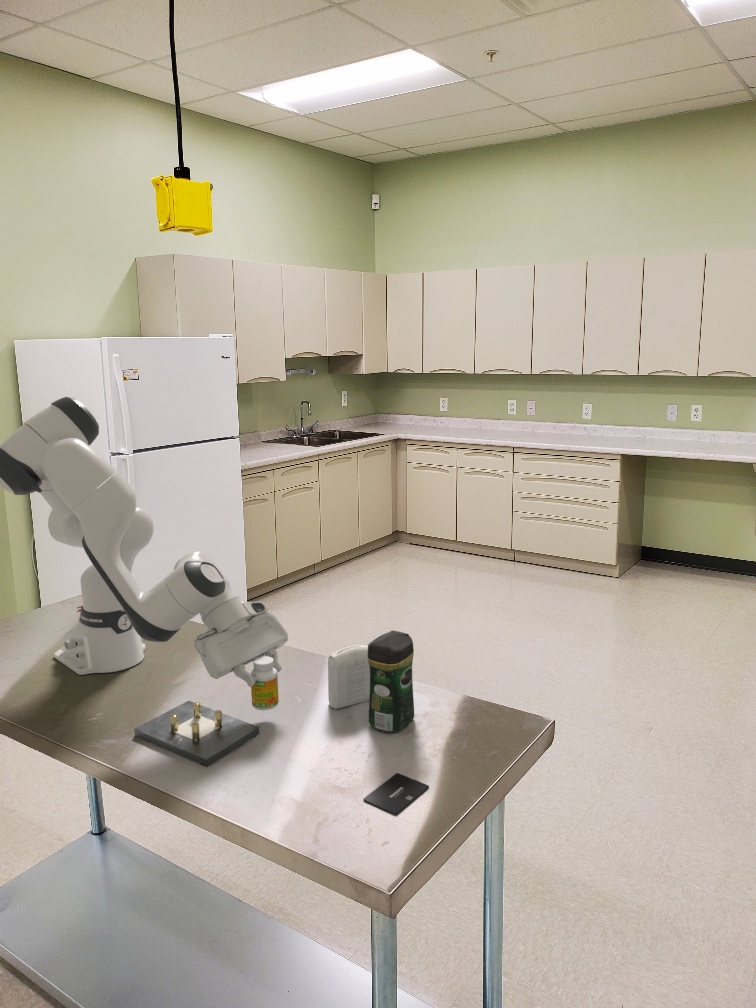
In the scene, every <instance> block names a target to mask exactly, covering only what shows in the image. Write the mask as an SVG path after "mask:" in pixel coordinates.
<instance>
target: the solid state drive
mask: <svg viewBox="0 0 756 1008" xmlns="http://www.w3.org/2000/svg"><path fill="white" fill-rule="evenodd" d="M429 788H430V786H429V785H428V784H425V783H424V782H421V781H418V780H416V779H414V778H411V777H409V776H407V775H404V774H401V773H399V772H396V773H394V774H393V775H392V776H391V777H390V778H388V779H387V780H386V781H384V782H383V783H382V784H380V785H378V787H377V788H376V789H374V790H372V791H371V792H370V793H369V794H367V795H366V796H365V797H364V798H363V802H364V803H366V804H369V805H371V806H374V807H376V808H378V809H380V810H382V811H384V812H386V813H389V814H391V815H393V816H398V815H400V814H401V812H402V811H404V810H405V809H406V808H407V807H408V806H410V805H411V804H412V803H414V801H415V800H417V799H418V798H419V797H421V796H422V795H423V794H424V793H425V792H426V791H427V790H429Z"/></svg>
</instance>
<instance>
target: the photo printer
mask: <svg viewBox="0 0 756 1008" xmlns="http://www.w3.org/2000/svg"><path fill="white" fill-rule="evenodd" d="M367 657H368V645H366V644H354V645H350V646H344V648H340V649H338V650H337V651H334V652H333V653H331V654H330V655H329V656H328V659H327V672H328V673H327V682H328V683H327V686H328V687H327V688H328V696H327V697H328V704H329V706H330V707H331V708H333V709H343V708H345V707H350V706H353V705H356V704H359V703H363V702H366V701H369V695H370V667H369V663H368V658H367Z"/></svg>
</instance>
